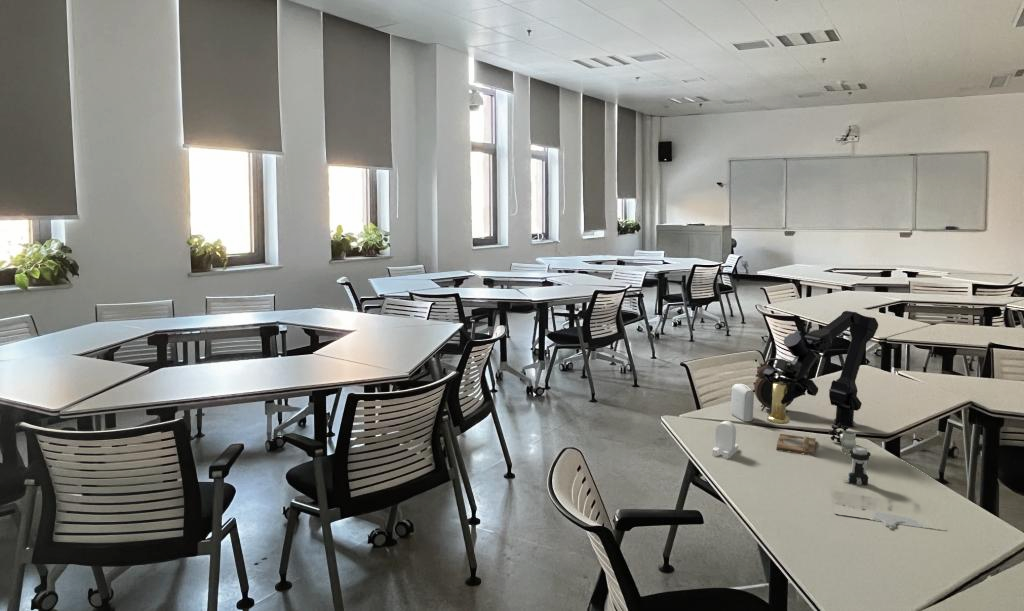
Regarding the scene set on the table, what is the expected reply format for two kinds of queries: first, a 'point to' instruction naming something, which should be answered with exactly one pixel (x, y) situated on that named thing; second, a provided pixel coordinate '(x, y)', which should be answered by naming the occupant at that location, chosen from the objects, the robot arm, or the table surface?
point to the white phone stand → (725, 440)
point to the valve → (844, 438)
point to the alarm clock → (766, 386)
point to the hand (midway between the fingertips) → (776, 401)
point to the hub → (778, 404)
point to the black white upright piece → (858, 466)
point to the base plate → (796, 444)
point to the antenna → (894, 520)
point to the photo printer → (742, 402)
